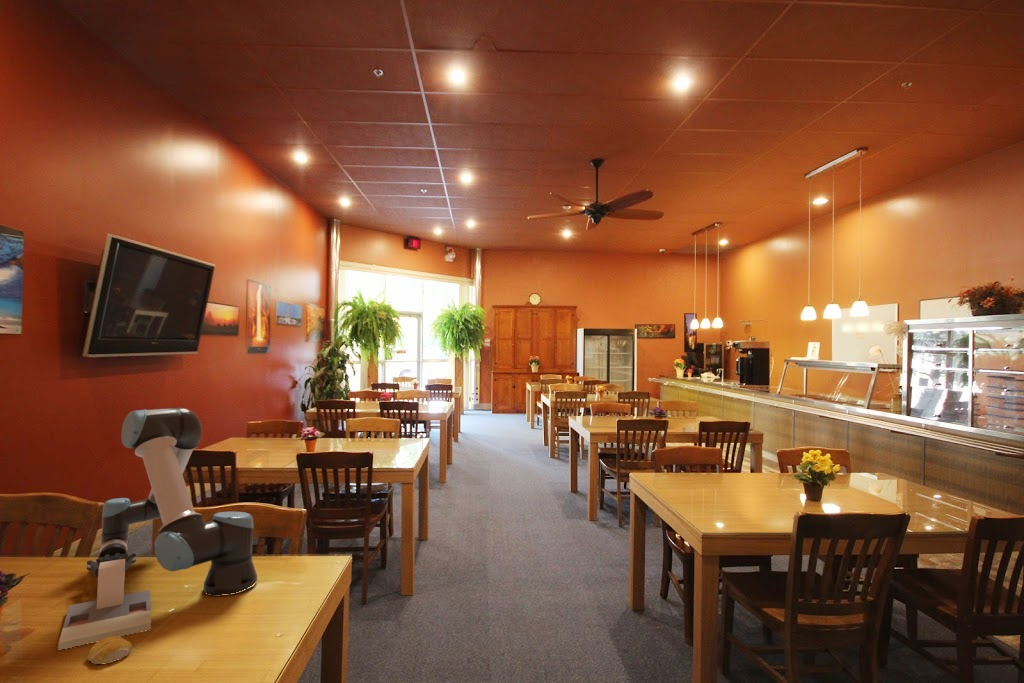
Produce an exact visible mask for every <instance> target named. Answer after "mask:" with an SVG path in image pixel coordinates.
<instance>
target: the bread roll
mask: <svg viewBox="0 0 1024 683" xmlns="http://www.w3.org/2000/svg"><path fill="white" fill-rule="evenodd" d="M132 649H133V645H132V643H131V642H130V641H128V640H126V639H125V638H124V637H119V636H112V637H108V638H105V639H102V640H100V641H99V642H96V643H94V645H93V646H92V647H91V648H90V649H89V652H88V654H87V660H89V661H91V662H90V663H92V664H93V663H94V664H93V665H95V664H102V663H109V662H111V661H114V660H117V659H120V658H122V657H125V656H126V657H127V656H128V655H129V653H130V652H131V651H132ZM126 657H125V658H126ZM89 661H88V662H89Z"/></svg>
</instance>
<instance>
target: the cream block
mask: <svg viewBox="0 0 1024 683" xmlns="http://www.w3.org/2000/svg"><path fill="white" fill-rule="evenodd" d="M125 574H126V572H125V559H120V560H113V561H107V562H101V563H100V565H99V570H98V577H97V592H96V593H97V595H96V600H97V609H100V608H105V607H110V606H116V605H121V604H123V598H124V595H125Z"/></svg>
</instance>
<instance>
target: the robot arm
mask: <svg viewBox="0 0 1024 683" xmlns="http://www.w3.org/2000/svg"><path fill="white" fill-rule="evenodd" d="M120 435H121V443H122V445H123V447H124V448H128V449H132V448H133V451H134V454H135V455H136V457H140V458H142V461H143V464H144V467H145V469H146V470H145V471H146V473H147V478H148V480H149V484H150V487H151V489H150V490H149V491H150V492H149V494H148V497H147V498H146V499H142V500H137V501H136V500H135V501H133V502H131V499H130V498H127V497H119V498H112V499H109V500H106V501H105V502H104V504H103V507H102V514H101V518H102V519H101V535H100V536H101V538H100V539H101V540H100V549H99V552H98V553H99V555H98V558H96V559H95V560H88V561H86V570H87V571H90V572H91V573H92V575H93V576H94V578H98V570H99V565H100V563H101V562H107V561H113V560H120V559H125V573H126V572H127V571H128V569H129V568H130V567H131V566H132V565H133V564H134V563H136V562H137V554H136V553H132V554H128V546H129V528H130V525H134V524H138V523H144V522H148V521H153V520H157V519H160V520H161V523H162V525H161V527H160V528H159V530H158V533H159V534H158V535H157V536H156V538H155V540H154V553H155V557H156V560H157V561H158V563H159V565H160V567H162V568H163V569H164V570H166V571H168V572H177V571H181V570H187V569H190V568H192V567H194V566H198V565H199V566H200V565H201V564H205V563H208V562H210V566H209V569H208V572H207V574H206V576H205V579H204V582H203V592H205V593H204V594H206V593H207V594H206V595H208V594H211V595H222V594H231V593H236V592H239V591H242V590H244V589H247V588H248V587H250V586H252V585H253V584H254V583H255V582H256V581H257V582H258V573H257V570H256V568H255V565H254V561H253V540H254V539H253V538H254V537H253V535H254V517H253V515H251V514H250V513H248V512H244V511H222V512H216V513H214V514H213V516H212V517H211V518H212V520H211V521H207V522H205V519H204V517H203V515H202V514H201V513H199V512H196V511H195V509H194V508H195V507H194V506H193V502H192V499H191V497H190V493H189V491H188V488H187V484H186V482H185V478H184V475H183V474H184V472H185V469H186V467H187V465H188V463H189V460H190V458H191V455H192V453H193V452H194V450H195V449H197V448H198V447H199V445H200V443H201V440H202V437H203V425H202V422H201V420H200V418H199V416H198V415H197V414H196V413H195V412H194V411H192V410H190V409H188V408H184V407H171V408H170V407H168V408H153V409H146V408H143V409H139V410H132V411H130V412H129V413H128V414H127V415H126V416H125V418H124V420H123V423H122V428H121V434H120ZM211 595H210V596H211Z"/></svg>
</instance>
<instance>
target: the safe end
mask: <svg viewBox="0 0 1024 683" xmlns="http://www.w3.org/2000/svg"><path fill="white" fill-rule="evenodd" d="M150 629H151V630H152V609H151V610H149V611H144V612H139V613H134V614H129V615H125V616H120V617H115V618H110V619H105V620H100V621H96V622H91V623H86V624H81V625H76V626H72V627H67V628H63V627H62V630H61V633H60V636H59V640H58V646H57V651H58V650H61V651H63V650H62V649H65V650H69V649H68V648H70V649H73V648H72V647H74V648H76V647H75V646H79V645H82V644H87V643H90V642H96V641H100V640H102V639H105V638H108V637H112V636H123V637H125V636H124V635H127V636H130V635H129V634H132V635H134V634H133V633H136V634H139V633H138V632H141V631H145V630H149V631H151V630H150ZM145 632H146V631H145ZM141 633H142V632H141ZM96 643H97V642H96ZM87 645H88V644H87ZM79 647H80V646H79Z"/></svg>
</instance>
